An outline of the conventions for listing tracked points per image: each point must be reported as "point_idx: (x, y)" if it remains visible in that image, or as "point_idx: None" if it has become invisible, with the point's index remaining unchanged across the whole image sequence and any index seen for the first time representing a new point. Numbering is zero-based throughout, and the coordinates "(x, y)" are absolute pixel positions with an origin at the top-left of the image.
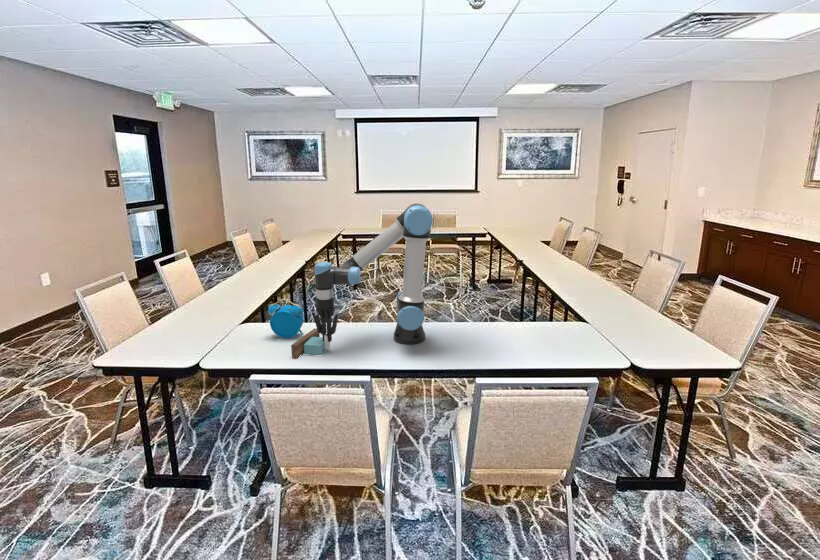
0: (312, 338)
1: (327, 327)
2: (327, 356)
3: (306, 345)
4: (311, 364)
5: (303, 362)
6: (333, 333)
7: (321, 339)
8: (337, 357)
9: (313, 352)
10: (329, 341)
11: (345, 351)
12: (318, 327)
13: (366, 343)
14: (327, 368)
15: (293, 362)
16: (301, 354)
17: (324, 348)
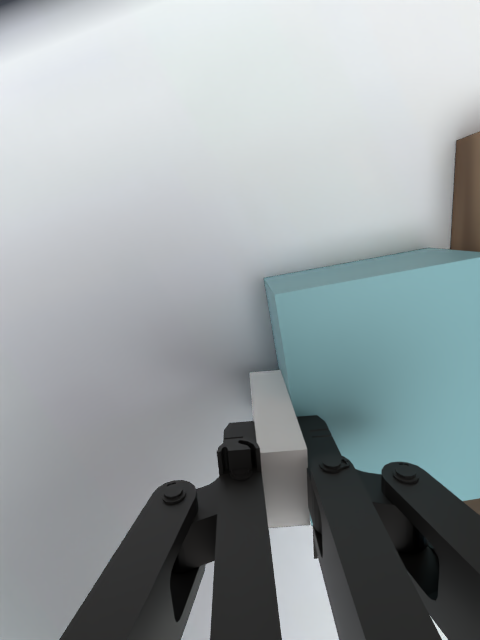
0: (477, 454)
1: (256, 574)
2: (207, 282)
3: (459, 259)
4: (252, 53)
5: (353, 73)
6: (153, 499)
7: (364, 459)
8: (110, 291)
9: (348, 266)
10: (236, 424)
11: (118, 426)
12: (463, 541)
13: (54, 606)
14: (47, 12)
15: (451, 37)
16: (456, 229)
17: (280, 365)
